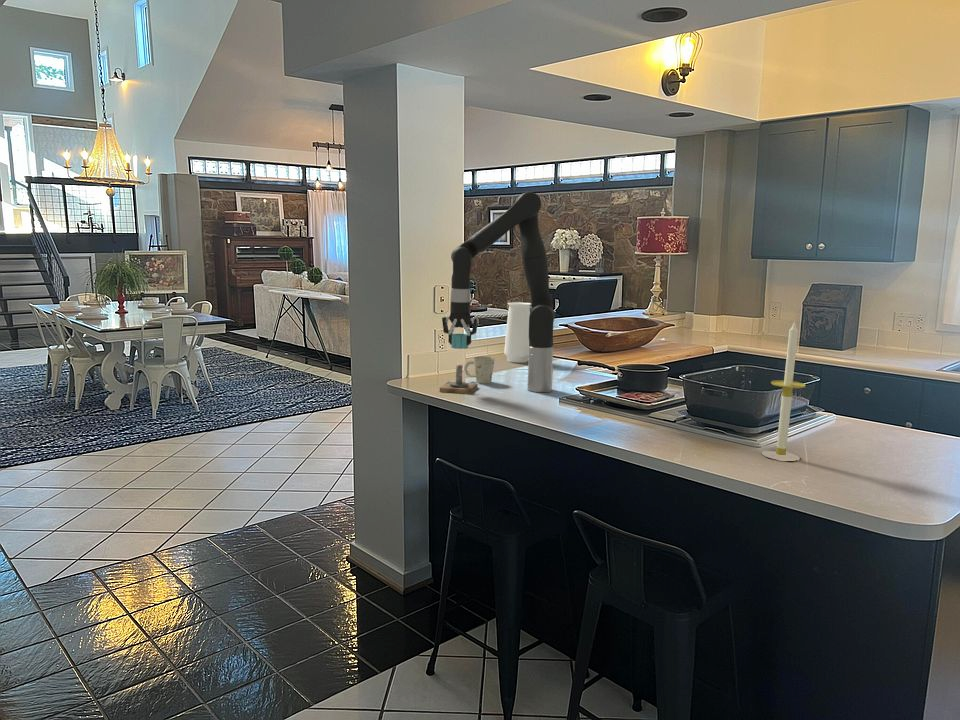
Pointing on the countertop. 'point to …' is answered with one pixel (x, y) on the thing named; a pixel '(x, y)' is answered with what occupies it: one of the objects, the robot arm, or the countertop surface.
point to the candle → (787, 391)
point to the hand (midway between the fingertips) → (459, 344)
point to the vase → (517, 332)
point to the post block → (458, 384)
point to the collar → (459, 341)
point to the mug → (482, 369)
